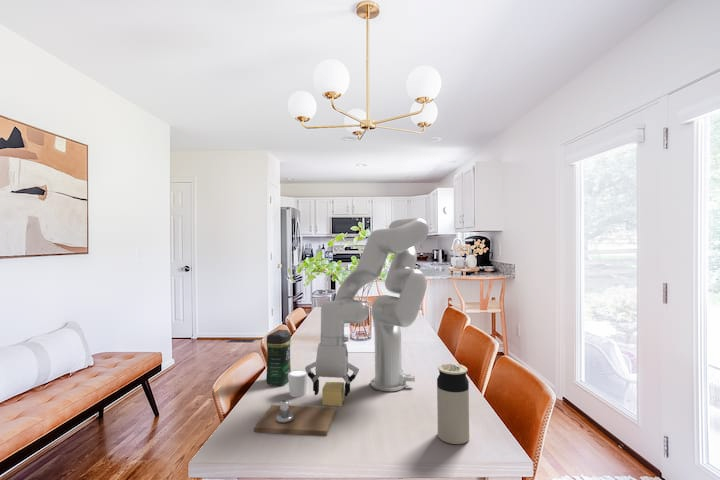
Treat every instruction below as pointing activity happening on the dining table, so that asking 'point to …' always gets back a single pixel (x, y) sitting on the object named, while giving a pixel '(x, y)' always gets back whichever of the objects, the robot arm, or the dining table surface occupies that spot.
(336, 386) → the tan cardboard cube
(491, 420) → the dining table surface
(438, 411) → the travel mug
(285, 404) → the stub
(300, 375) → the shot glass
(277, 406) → the board
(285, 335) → the coffee jar
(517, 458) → the dining table surface
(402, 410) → the dining table surface
